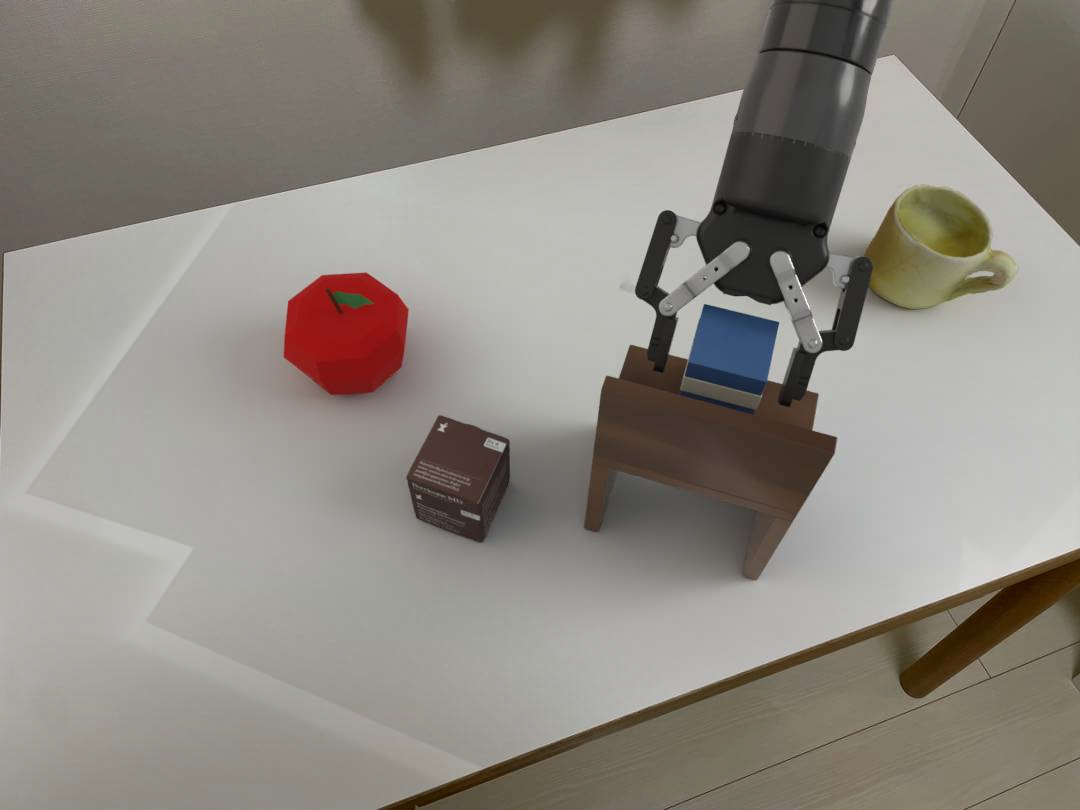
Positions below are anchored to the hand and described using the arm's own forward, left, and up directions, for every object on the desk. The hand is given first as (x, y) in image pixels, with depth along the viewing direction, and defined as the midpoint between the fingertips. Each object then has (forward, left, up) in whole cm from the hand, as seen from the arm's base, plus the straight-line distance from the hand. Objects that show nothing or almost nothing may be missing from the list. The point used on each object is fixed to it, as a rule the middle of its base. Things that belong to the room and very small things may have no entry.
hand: (720, 387), depth 57 cm
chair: (+1, +1, -15) cm, 15 cm away
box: (+17, -7, -15) cm, 24 cm away
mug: (-32, -8, -15) cm, 37 cm away
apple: (+20, -24, -15) cm, 35 cm away
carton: (-1, -1, -3) cm, 3 cm away
